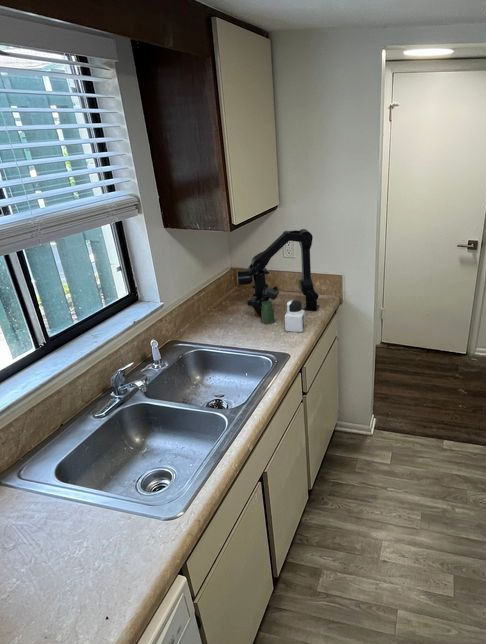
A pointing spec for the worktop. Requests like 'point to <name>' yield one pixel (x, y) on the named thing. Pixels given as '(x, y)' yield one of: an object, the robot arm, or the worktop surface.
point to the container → (294, 317)
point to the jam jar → (267, 312)
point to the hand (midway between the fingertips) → (262, 313)
